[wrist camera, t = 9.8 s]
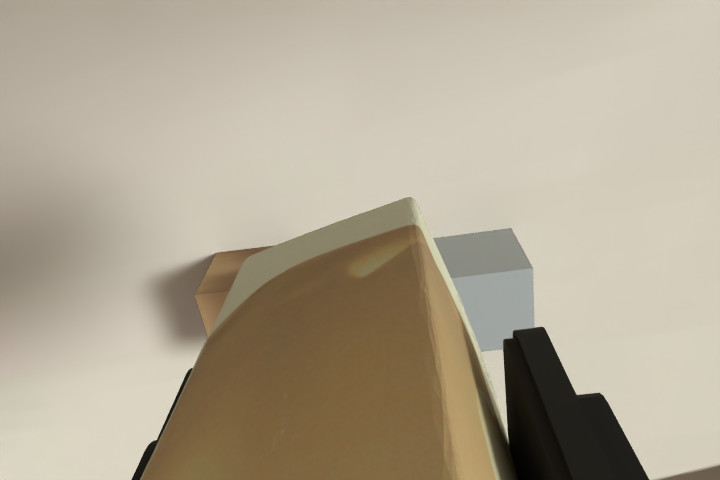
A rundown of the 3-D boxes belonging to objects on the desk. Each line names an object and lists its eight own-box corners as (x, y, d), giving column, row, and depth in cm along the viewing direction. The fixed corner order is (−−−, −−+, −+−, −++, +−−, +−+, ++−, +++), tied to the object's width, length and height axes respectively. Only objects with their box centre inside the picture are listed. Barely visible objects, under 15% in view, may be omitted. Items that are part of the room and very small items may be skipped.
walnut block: (296, 242, 34) (285, 284, 30) (310, 310, 36) (303, 359, 32) (216, 252, 35) (194, 295, 30) (235, 319, 37) (218, 368, 32)
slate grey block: (510, 227, 34) (532, 268, 29) (513, 297, 36) (534, 345, 31) (427, 238, 34) (437, 280, 30) (435, 307, 36) (445, 356, 32)
